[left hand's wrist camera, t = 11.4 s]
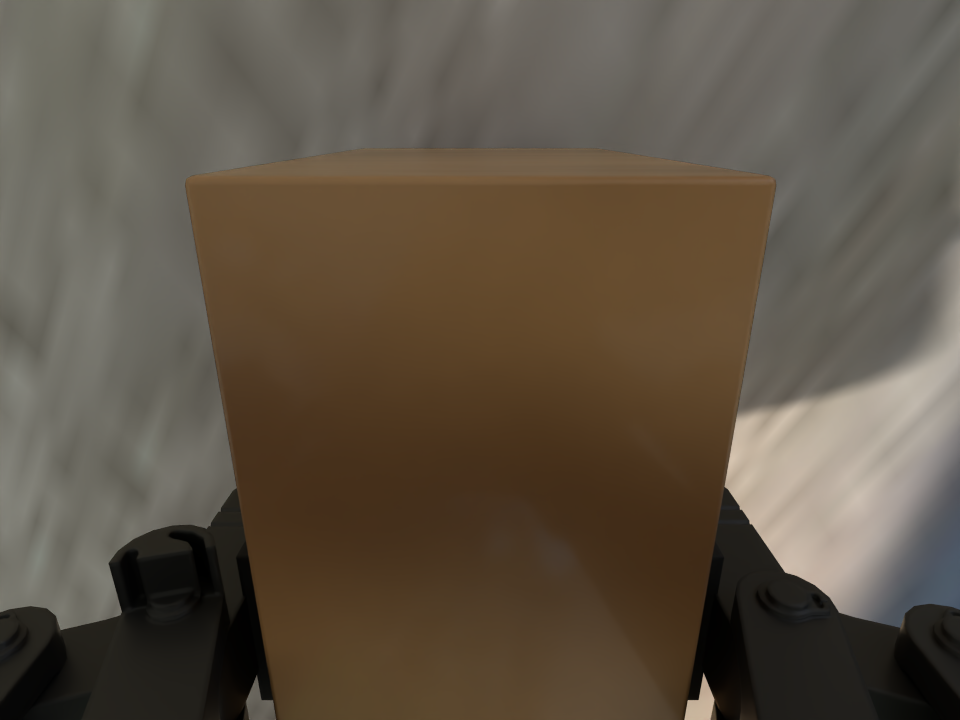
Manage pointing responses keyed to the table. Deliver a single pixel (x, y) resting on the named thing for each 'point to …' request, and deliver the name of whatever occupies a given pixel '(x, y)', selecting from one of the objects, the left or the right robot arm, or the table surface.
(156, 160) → the table surface
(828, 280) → the table surface
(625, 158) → the beam
